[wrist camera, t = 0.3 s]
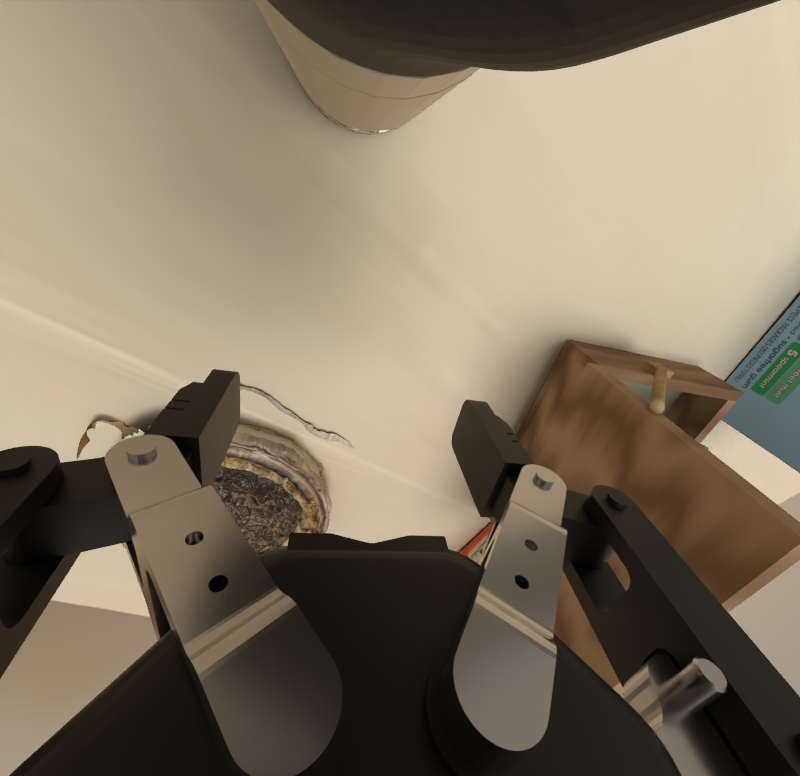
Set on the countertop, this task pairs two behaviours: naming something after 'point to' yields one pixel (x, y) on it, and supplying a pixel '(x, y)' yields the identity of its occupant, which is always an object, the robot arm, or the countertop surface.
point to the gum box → (771, 391)
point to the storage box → (655, 474)
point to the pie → (266, 482)
